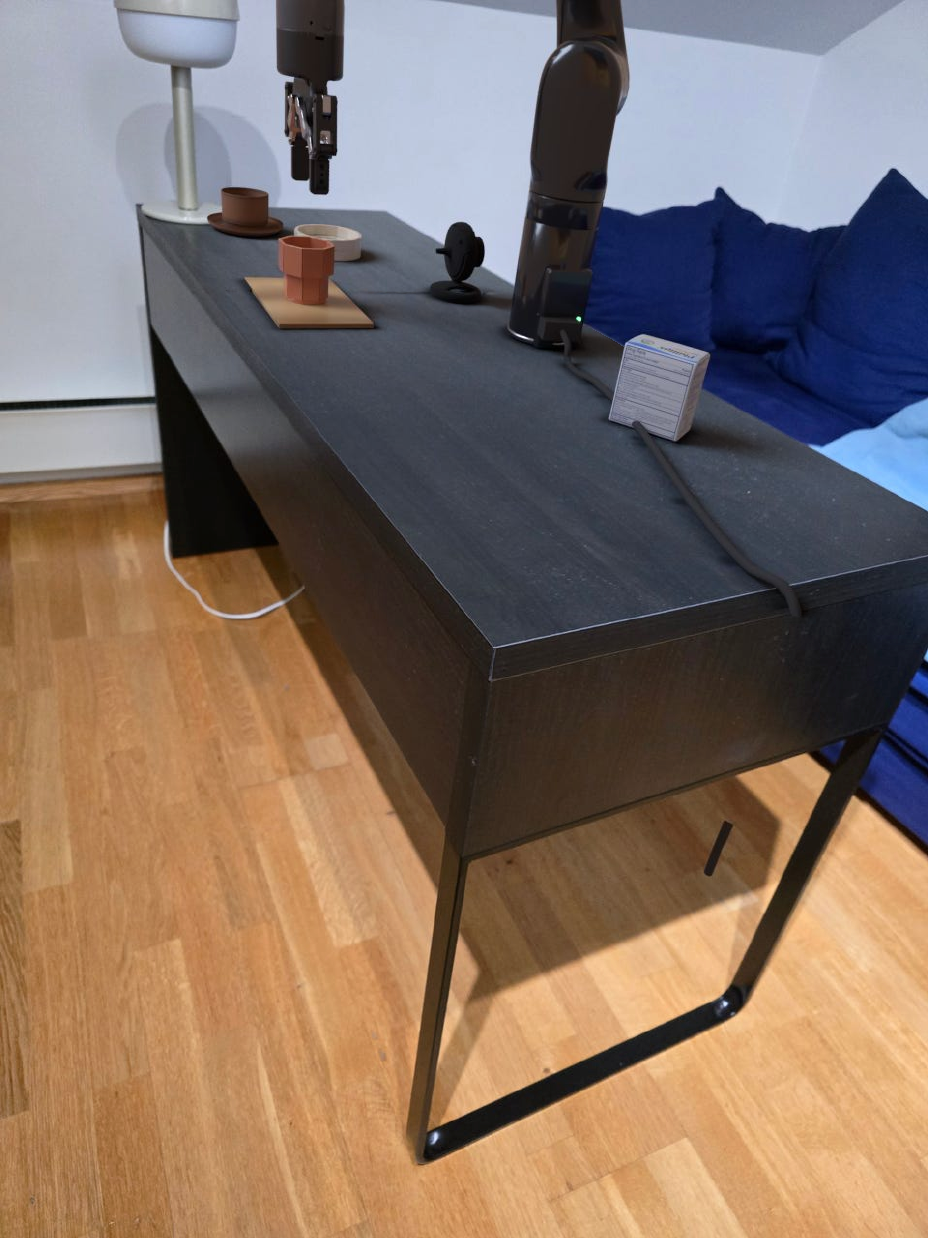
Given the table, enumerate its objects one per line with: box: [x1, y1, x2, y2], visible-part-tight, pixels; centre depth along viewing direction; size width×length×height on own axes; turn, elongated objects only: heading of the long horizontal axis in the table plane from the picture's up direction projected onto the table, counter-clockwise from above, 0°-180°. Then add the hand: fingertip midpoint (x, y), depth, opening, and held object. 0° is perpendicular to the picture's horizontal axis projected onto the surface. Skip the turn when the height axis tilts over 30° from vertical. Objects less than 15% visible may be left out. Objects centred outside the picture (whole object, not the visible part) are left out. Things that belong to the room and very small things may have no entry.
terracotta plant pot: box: [278, 235, 335, 305], centre depth 113 cm, size 7×7×7 cm
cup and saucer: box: [206, 186, 284, 238], centre depth 141 cm, size 12×12×6 cm
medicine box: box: [608, 333, 711, 443], centre depth 92 cm, size 8×4×9 cm, turn 58°
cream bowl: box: [293, 223, 363, 262], centre depth 137 cm, size 10×10×4 cm
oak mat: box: [244, 276, 375, 330], centre depth 115 cm, size 20×12×1 cm, turn 23°
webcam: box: [429, 221, 486, 304], centre depth 125 cm, size 8×8×10 cm
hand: (309, 186), depth 107 cm, fingers open, 8 cm apart
